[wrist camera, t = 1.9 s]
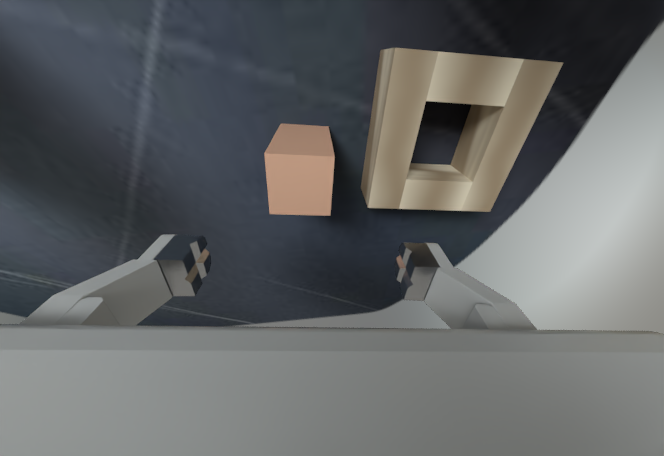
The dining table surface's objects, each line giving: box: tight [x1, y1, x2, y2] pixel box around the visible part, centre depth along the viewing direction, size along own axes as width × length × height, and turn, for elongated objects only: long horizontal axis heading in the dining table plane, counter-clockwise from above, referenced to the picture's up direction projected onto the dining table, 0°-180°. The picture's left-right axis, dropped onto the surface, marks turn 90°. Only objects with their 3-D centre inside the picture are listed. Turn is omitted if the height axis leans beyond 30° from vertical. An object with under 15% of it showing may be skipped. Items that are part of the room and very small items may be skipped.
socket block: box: [361, 48, 563, 212], centre depth 20 cm, size 11×11×4 cm
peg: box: [264, 124, 335, 216], centre depth 18 cm, size 4×4×8 cm
